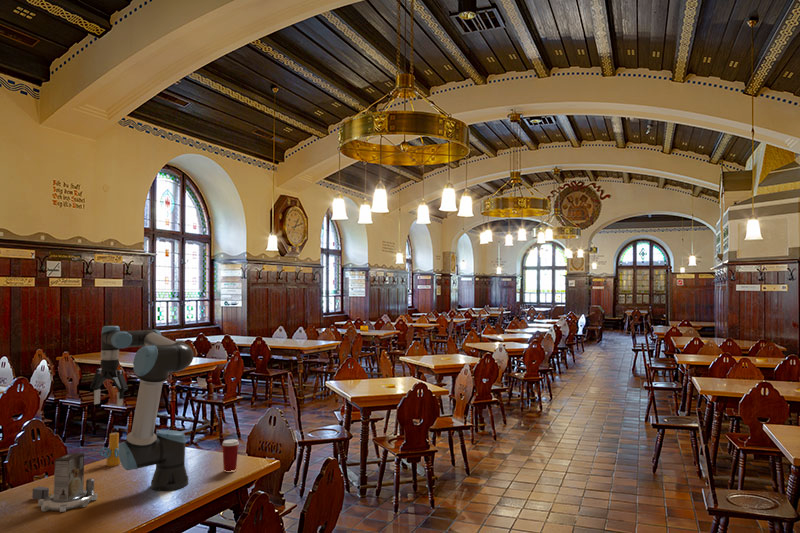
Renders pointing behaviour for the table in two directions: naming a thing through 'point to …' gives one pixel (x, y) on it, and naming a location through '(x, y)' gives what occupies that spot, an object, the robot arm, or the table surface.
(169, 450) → the robot arm
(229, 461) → the paper cup
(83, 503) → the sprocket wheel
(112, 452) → the yellow and blue toy
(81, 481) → the coffee box
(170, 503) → the table surface
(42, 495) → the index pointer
